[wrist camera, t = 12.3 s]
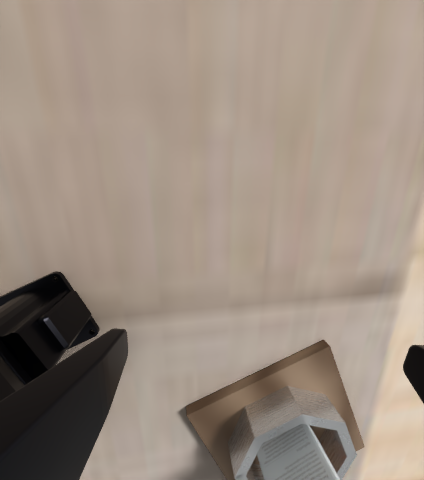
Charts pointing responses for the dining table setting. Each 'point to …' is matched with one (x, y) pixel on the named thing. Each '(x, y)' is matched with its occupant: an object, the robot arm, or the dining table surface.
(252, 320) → the dining table surface
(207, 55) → the dining table surface
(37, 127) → the dining table surface
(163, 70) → the dining table surface
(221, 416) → the walnut board
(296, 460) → the skincare box
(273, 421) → the steel ring
